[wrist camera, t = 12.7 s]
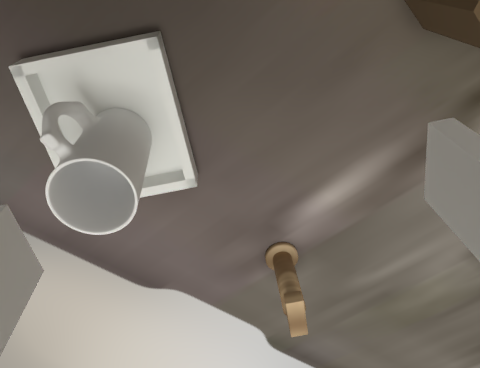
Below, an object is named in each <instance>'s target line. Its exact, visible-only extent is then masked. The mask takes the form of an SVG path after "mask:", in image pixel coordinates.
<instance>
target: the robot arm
mask: <svg viewBox="0 0 480 368" xmlns="http://www.w3.org/2000/svg"><path fill="white" fill-rule="evenodd" d="M424 199H425V201H426V202H427V203H428V204H429V205H430V206H431V207H432V208H433V210H434V211H435V212H436V213H437V214H438V215H439V216H440V217H441V219H442V220H443V221H444V222H445V223H446V224H447V225H448V226H449V228H450V229H451V230H452V231H453V232H454V233H455V234H456V235H457V237H458V238H459V239H460V240H461V241H462V242H463V243H464V244H465V246H466V247H467V248H468V249H469V250H470V251H471V252H472V253H473V255H474V256H475V257H476V258H477V259H478V260H479V261H480V135H479V134H477V133H476V132H474V131H473V130H471V129H470V128H468V127H467V126H465V125H464V124H462V123H461V122H459V121H458V120H456V119H455V118H449V119H444V120H439V121H434V122H429V123H428V134H427V152H426V170H425V189H424ZM43 271H44V270H43V269H42V266H41V265H40V263H39V261H38V259H37V257H36V256H35V254H34V252H33V250H32V248H31V247H30V245H29V243H28V241H27V239H26V238H25V236H24V234H23V232H22V230H21V229H20V227H19V225H18V223H17V221H16V219H15V218H14V216H13V214H12V212H11V210H10V209H9V207H8V205H7V204H6V205H1V206H0V356H1V354H2V352H3V350H4V348H5V346H6V344H7V342H8V340H9V338H10V336H11V334H12V332H13V330H14V328H15V326H16V324H17V322H18V320H19V318H20V316H21V314H22V312H23V310H24V309H25V306H26V305H27V303H28V301H29V299H30V297H31V295H32V293H33V291H34V289H35V287H36V285H37V283H38V281H39V279H40V277H41V275H42V273H43Z"/></svg>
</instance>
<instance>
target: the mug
mask: <svg viewBox="0 0 480 368" xmlns="http://www.w3.org/2000/svg"><path fill="white" fill-rule="evenodd" d="M60 115H67V116H70V117H72V118H73V119H74V120H76V121H77V122H78V124H79V125H80V126H81V128H82V130H83V131H82V134H81V135H80V137H79V138H78V139H77V141H76V142H75V143H74V145H73V144H71V143H70V142H69V141H68V140H66V139H65V137H64V136H63V135H62V133H61V131H60V129H59V126H58V118H59V116H60ZM40 141H41V142H42V143H43V144H44V145H45V146H46V147H47V148H49V149H50V150H54V151H55V152H56V153H57V154H58V156H59V159H60V161H59V164H58V166H57V167H56V168H55V169H54V170H53V172H52V173H51V174H50V176H49V178H48V180H47V183H46V190H45V193H46V199H47V203H48V205H49V207H50V209H51V211H52V212H53V213H54V215H55V216H56V217H57V218H58V219H59V220H60V221H61V222H62V223H64V224H65V225H67V226H68V227H70V228H72V229H74V230H76V231H79V232H82V233H86V234H93V235H103V234H109V233H113V232H116V231H118V230H121V229H122V228H124V227H125V226H126V225H128V224H129V223H130V221H131V220H132V219H133V217H134V215H135V213H136V210H137V206H138V202H139V198H140V194H141V190H142V186H143V181H144V177H145V172H146V168H147V164H148V159H149V155H150V149H151V144H152V136H151V132H150V129H149V127H148V125H147V123H146V122H145V121H144V120H143V119H142V118H141V117H140V116H139V115H137V114H136V113H134V112H132V111H130V110H127V109H122V108H112V109H107V110H105V111H102V112H101V113H99V114H98V115H97V116H94V115H93V114H92V113H91V112H90V111H89V110H88V109H87V108H86V106H85V105H84V104H83V103H82V102H78V101H75V102H57V103H54V104H52V105H50V106H49V107H48V108H47V109H46V110H45V112H44V115H43V119H42V135H41V137H40Z"/></svg>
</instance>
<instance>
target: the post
mask: <svg viewBox="0 0 480 368" xmlns="http://www.w3.org/2000/svg"><path fill="white" fill-rule="evenodd" d="M265 258H266V263H267V265H268V267H269V268H271V269H272V270H274V271H275V274H276V279H277V284H278V288H279V293H280V297H281V302H282V307H283V311H284V314H285V315H286V316H287V318H288V323H289V329H290V333H291V337H296V336H301V335H306V334H308V330H307V323H306V315H305V310H306V306H305V302H304V299H303V295H302V292H301V288H300V285H299V281H298V277H297V274H296V270H295V267H294V266H295V265H296V263H297V261H298V254H297V250H296V248H295V247H294V246H293V245H292V244H290V243H287V242H278V243H275V244H273V245H271V246H270V247H269V248H268V249H267V251H266V254H265Z"/></svg>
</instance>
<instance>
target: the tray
mask: <svg viewBox="0 0 480 368" xmlns="http://www.w3.org/2000/svg"><path fill="white" fill-rule="evenodd" d="M8 67H9V69H10V71H11V73H12V76H13V78H14V80H15V82H16V84H17V86H18V89H19V91H20V93H21V95H22V97H23V99H24V102H25V104H26V106H27V108H28V110H29V113H30V115H31V117H32V119H33V121H34V123H35V126H36V128H37V130H38V132H39V134H40V136H41V135H42V119H43V115H44V112H45V110H46V109H47V108H48V107H49V106H50V105H52V104H54V103H57V102H75V101H78V102H82V103H83V104H84V105H85V106H86V108H87V109H88V110H89V111H90V112H91V113H92V114H93V115H94V116H97V115H98V114H99V113H101V112H102V111H105V110H107V109H112V108H122V109H127V110H130V111H132V112H134V113H136V114H137V115H139V116H140V117H141V118H142V119H143V120H144V121H145V122H146V123H147V125H148V127H149V129H150V132H151V136H152V144H151V149H150V155H149V159H148V164H147V168H146V172H145V177H144V181H143V186H142V190H141V194H140V198H141V197H146V196H151V195H156V194H161V193H166V192H172V191H177V190H182V189H187V188H192V187H197V181H198V172H197V168H196V164H195V160H194V157H193V153H192V149H191V145H190V141H189V138H188V134H187V130H186V126H185V123H184V119H183V115H182V111H181V107H180V104H179V100H178V96H177V92H176V88H175V85H174V81H173V77H172V73H171V69H170V66H169V62H168V58H167V54H166V50H165V47H164V43H163V39H162V35H161V31H156V32H151V33H146V34H141V35H136V36H131V37H126V38H121V39H116V40H111V41H107V42H102V43H97V44H92V45H87V46H82V47H77V48H72V49H67V50H62V51H57V52H52V53H48V54H43V55H38V56H33V57H28V58H23V59H21V60H19V61H17V62H15V63H14V64H12V65H10V66H8ZM58 126H59V129H60V131H61V133H62V135H63V136H64V137H65V139H66V140H68V141H69V142H70V143H71V144H73V145H74V143H75V142H76V141H77V139H78V138H79V137H80V135H81V134H82V131H83V130H82V128H81V126H80V125H79V124H78V122H77V121H76V120H74V119H73V118H72V117H70V116H67V115H60V116H59V118H58ZM45 147H46V146H45ZM46 149H47V152H48V154H49V156H50V158H51V160H52V163H53V165H54V167H55V168H56V167H57V166H58V164H59V161H60V159H59V156H58V154H57V153H56V152H55V151H54V150H50V149H49V148H47V147H46Z"/></svg>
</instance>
